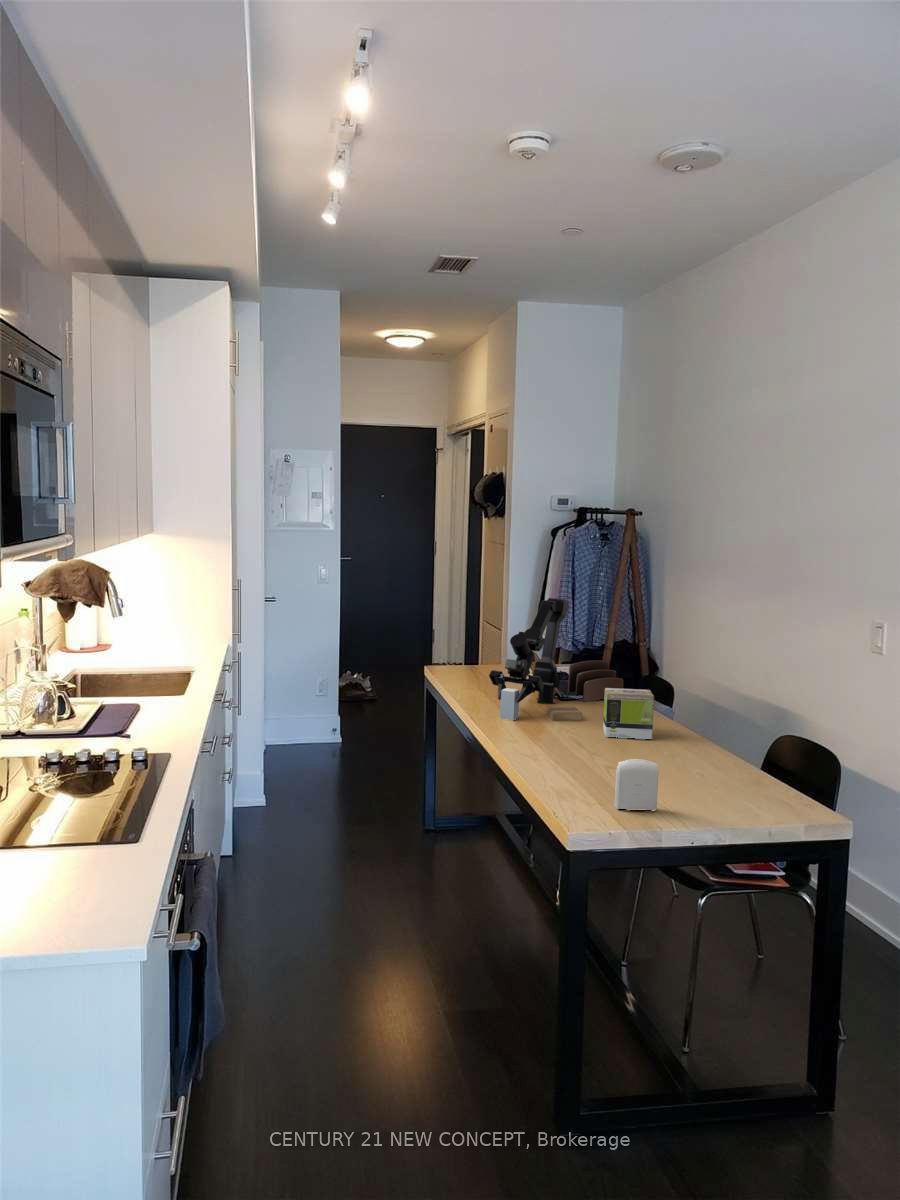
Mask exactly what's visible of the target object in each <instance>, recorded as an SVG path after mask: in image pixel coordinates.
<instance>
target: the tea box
mask: <svg viewBox="0 0 900 1200" xmlns="http://www.w3.org/2000/svg"><path fill="white" fill-rule="evenodd" d="M654 703H655V695H654V694H653V692H652V691H651V689H641V688H640V689H639V688H638V689H637V688H636V689H635V688H623V689H620V688H605V695H604V700H603V718H602V719H603V721H602V725H603V727H602V730H603V733H604V737H605V738H608V737H616V738H615V739H627V738H635V739H634V740H645V739H652V740H653V728H654V710H655V709H654V707H655V705H654ZM617 737H618V738H617Z"/></svg>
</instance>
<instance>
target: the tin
mask: <svg viewBox="0 0 900 1200" xmlns="http://www.w3.org/2000/svg"><path fill="white" fill-rule="evenodd" d="M519 694H520V690H519V689H517V688H509V687H506V688H505V689H503V690H501V699H500V705H499V706H500V708H499V709H500V710H499V719H500V718H502V719H501V720H503V719H508V720H507V721H509V720H515V719H517V720H519V709H520V702H519V703H517V699H518V696H519ZM515 721H516V720H515Z"/></svg>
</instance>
